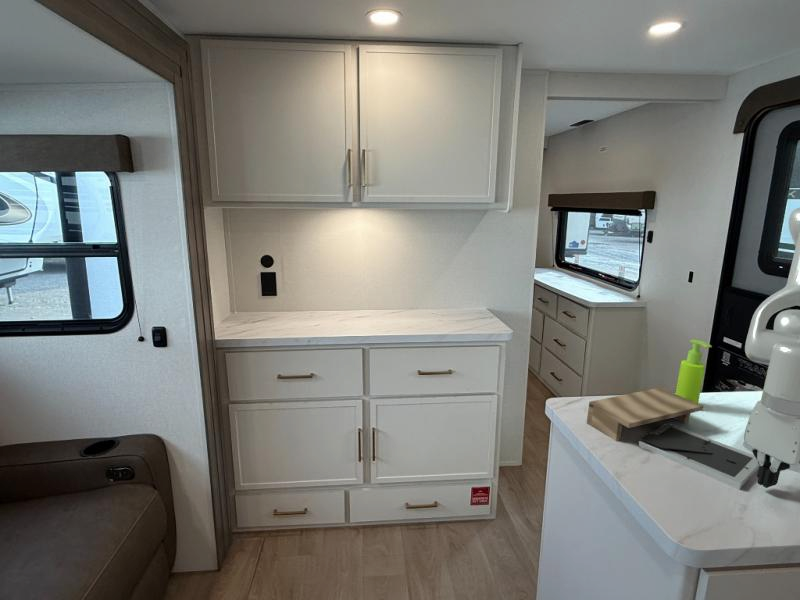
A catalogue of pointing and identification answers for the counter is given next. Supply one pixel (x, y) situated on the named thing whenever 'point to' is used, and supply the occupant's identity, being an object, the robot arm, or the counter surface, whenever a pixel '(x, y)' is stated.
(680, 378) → the soap dispenser
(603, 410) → the walnut shelf
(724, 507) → the counter surface
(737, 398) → the counter surface
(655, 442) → the picture frame
